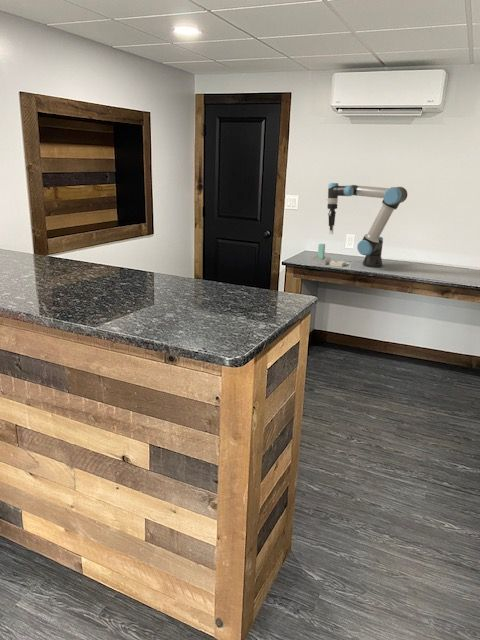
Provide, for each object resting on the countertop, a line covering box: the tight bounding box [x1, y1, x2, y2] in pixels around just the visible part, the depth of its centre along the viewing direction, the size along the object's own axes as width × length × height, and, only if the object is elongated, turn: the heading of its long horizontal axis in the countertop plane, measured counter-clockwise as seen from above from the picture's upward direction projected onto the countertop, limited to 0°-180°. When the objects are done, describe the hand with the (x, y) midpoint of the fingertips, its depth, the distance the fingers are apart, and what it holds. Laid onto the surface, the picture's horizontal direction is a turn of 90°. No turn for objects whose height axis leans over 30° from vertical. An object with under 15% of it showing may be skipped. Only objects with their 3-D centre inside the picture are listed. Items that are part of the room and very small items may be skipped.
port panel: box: [310, 254, 332, 266], centre depth 402 cm, size 12×12×5 cm
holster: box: [328, 259, 347, 267], centre depth 396 cm, size 10×10×2 cm
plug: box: [317, 243, 326, 259], centre depth 401 cm, size 4×4×15 cm
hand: (331, 234), depth 398 cm, fingers closed
